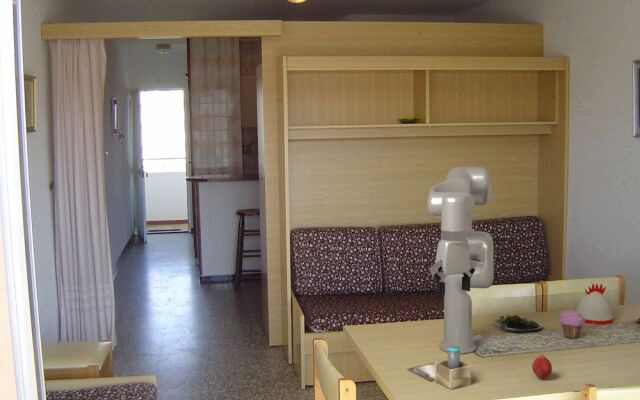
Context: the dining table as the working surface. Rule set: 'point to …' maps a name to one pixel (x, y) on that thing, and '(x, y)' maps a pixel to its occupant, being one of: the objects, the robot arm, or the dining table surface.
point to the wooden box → (452, 375)
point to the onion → (542, 367)
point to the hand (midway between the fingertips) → (453, 292)
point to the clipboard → (425, 371)
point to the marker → (453, 357)
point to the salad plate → (517, 324)
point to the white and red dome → (595, 307)
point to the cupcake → (571, 323)
